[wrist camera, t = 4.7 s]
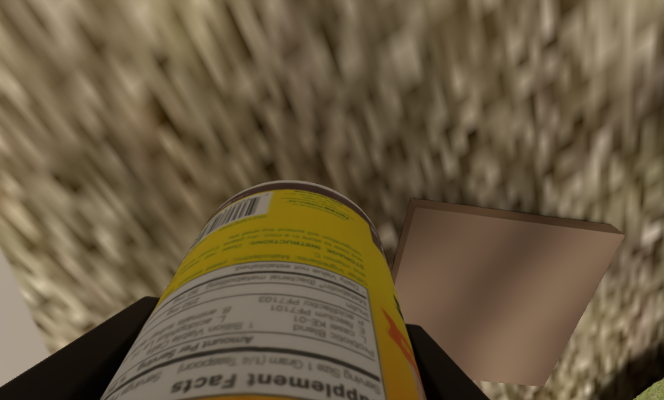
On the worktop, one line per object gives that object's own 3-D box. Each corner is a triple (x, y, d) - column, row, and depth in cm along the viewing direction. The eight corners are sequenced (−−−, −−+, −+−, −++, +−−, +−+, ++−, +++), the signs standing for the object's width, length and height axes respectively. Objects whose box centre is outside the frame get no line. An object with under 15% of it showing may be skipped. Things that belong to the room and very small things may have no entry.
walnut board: (610, 224, 18) (625, 234, 18) (534, 371, 22) (543, 386, 22) (410, 198, 18) (415, 207, 17) (369, 356, 22) (371, 370, 21)
